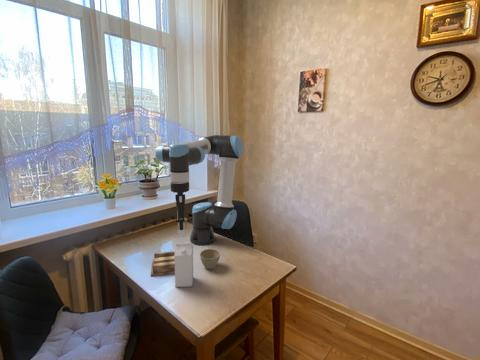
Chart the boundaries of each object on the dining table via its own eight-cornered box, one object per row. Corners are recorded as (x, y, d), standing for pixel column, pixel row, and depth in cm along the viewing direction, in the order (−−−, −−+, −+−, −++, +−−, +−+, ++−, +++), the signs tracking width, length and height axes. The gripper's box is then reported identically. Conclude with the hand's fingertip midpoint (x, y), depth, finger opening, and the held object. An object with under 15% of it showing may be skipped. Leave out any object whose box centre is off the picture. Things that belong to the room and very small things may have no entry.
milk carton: (177, 277, 114) (176, 239, 110) (193, 277, 115) (192, 239, 111) (175, 287, 108) (173, 247, 104) (191, 286, 108) (191, 246, 104)
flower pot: (203, 274, 118) (203, 260, 116) (197, 264, 126) (197, 251, 125) (223, 269, 122) (223, 256, 121) (215, 259, 131) (215, 247, 129)
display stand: (184, 257, 132) (184, 249, 131) (185, 271, 119) (185, 263, 118) (152, 260, 128) (152, 252, 127) (150, 276, 115) (150, 267, 114)
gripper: (170, 176, 113) (172, 220, 117) (169, 189, 89) (171, 243, 94) (187, 175, 115) (188, 219, 119) (191, 188, 91) (191, 241, 95)
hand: (181, 230), depth 106 cm, fingers open, 13 cm apart
